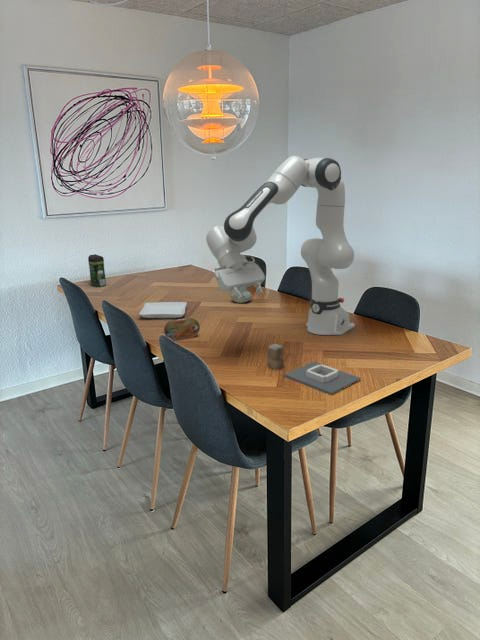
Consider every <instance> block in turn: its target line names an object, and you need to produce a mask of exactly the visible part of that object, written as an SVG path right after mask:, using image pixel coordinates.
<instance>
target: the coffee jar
mask: <svg viewBox="0 0 480 640" xmlns="http://www.w3.org/2000/svg"><path fill="white" fill-rule="evenodd" d="M87 259H88V261H87V262H88V268H89V277H90V278H89V279H90V285H91V286H92V287H96V288H97V287H99V286H102V287H104V285H105V286H106V285H107V280H106V279H107V278H106V274H105V273H106V272H105V259H104V256H102V255H98V254H89V256H88V257H87ZM99 288H100V287H99Z"/></svg>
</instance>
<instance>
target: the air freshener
mask: <svg viewBox="0 0 480 640" xmlns="http://www.w3.org/2000/svg"><path fill="white" fill-rule="evenodd" d="M237 290H238V291H239V292H240V293H241V292H242V293H243V295H244V297H243V298H242V299H238V297H237V296H236V295H235V294H233V293H232V292H231V295H230V298H231V300H232V301H233V302H235V303H237V304H245V303H247V302H250V301H251V299H252V297H253V295H252V293H251V292H250V291H249V290H248V287H244V288H239V289H237Z"/></svg>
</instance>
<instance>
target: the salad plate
mask: <svg viewBox="0 0 480 640" xmlns="http://www.w3.org/2000/svg"><path fill="white" fill-rule="evenodd" d="M187 304H188V302H186V301H164V302H162V301H161V302H160V301H159V302H145V303H144V304H143V307H142V309H141V310H140V311H139V316H140V317H142V318H143V319H150V318H158V319H177V318H178V319H180V318H182V317H183V316H185V313H186V309H187V308H186V307H187V306H188V305H187Z"/></svg>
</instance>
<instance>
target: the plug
mask: <svg viewBox="0 0 480 640" xmlns="http://www.w3.org/2000/svg"><path fill="white" fill-rule="evenodd" d="M268 346H269V347H267V368H269V369H271V370H272V369H273V370H275V371H276V370H278V369H281V368H284V347H283V346H282V345H280V344H279V343H273V344H270V345H268Z"/></svg>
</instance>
